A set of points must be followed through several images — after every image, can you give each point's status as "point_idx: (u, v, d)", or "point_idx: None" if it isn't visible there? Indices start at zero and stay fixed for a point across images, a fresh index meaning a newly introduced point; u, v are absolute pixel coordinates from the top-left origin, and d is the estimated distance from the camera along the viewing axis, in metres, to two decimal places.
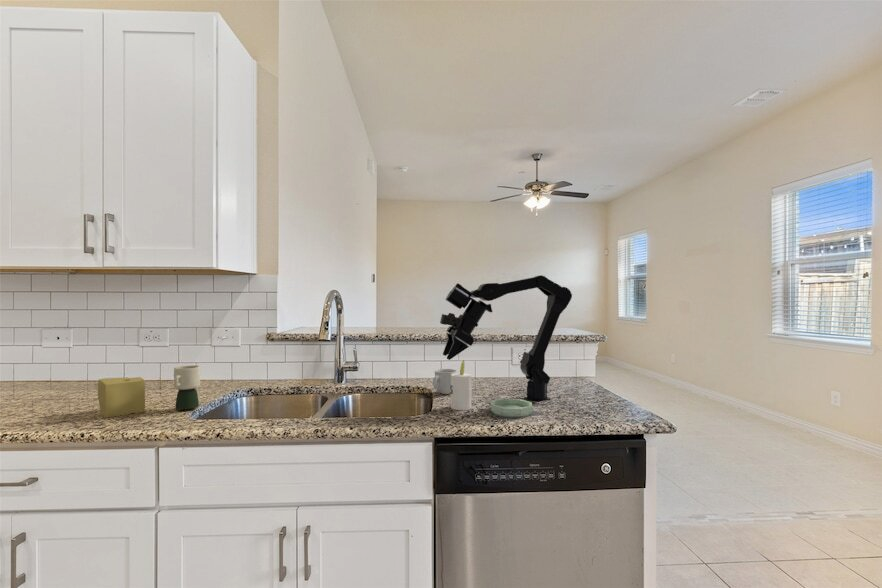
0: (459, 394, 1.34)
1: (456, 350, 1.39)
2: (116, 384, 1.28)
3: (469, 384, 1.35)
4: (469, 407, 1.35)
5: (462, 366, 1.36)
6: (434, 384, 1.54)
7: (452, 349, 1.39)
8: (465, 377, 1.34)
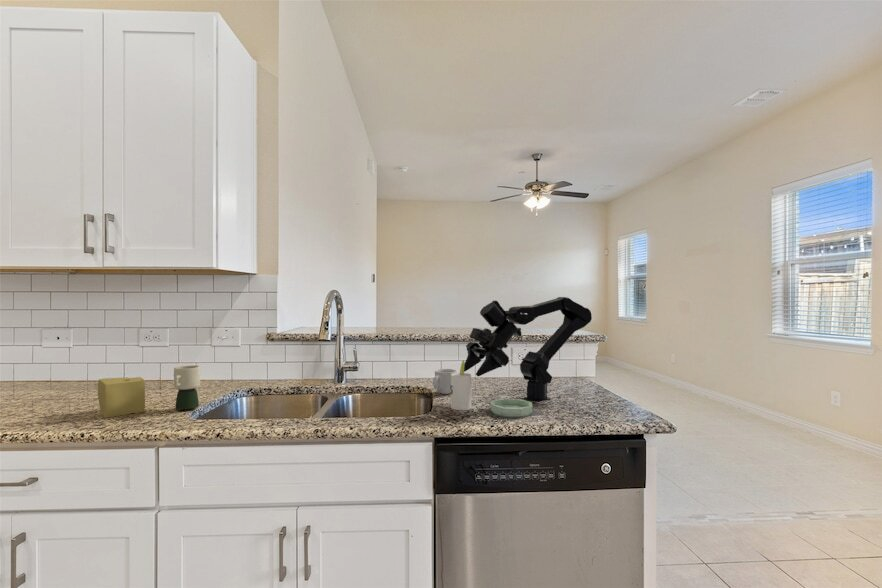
0: (459, 394, 1.34)
1: (487, 368, 1.34)
2: (116, 384, 1.28)
3: (469, 384, 1.35)
4: (469, 407, 1.35)
5: (462, 366, 1.36)
6: (434, 384, 1.54)
7: (484, 366, 1.34)
8: (465, 377, 1.34)
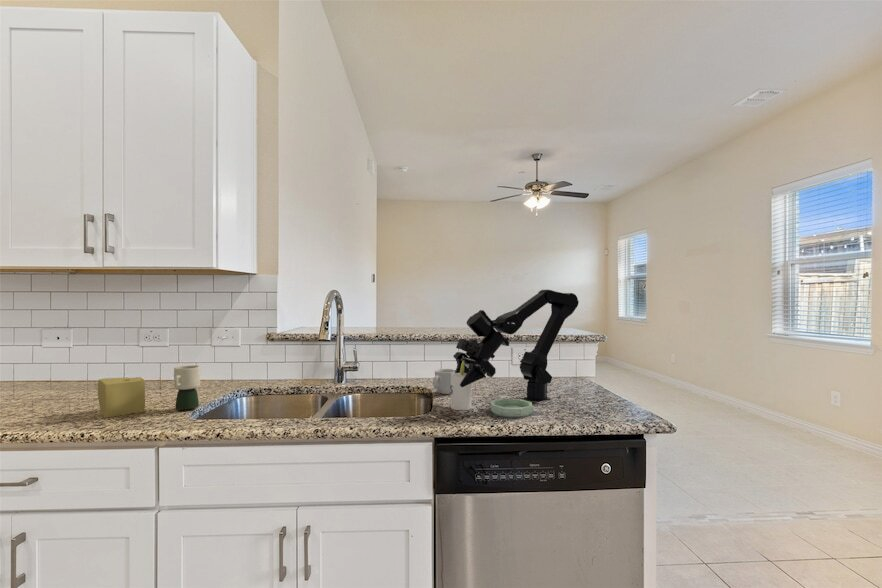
0: (459, 394, 1.34)
1: (471, 378, 1.34)
2: (116, 384, 1.28)
3: (469, 384, 1.35)
4: (469, 407, 1.35)
5: (462, 366, 1.36)
6: (434, 384, 1.54)
7: (468, 377, 1.33)
8: None
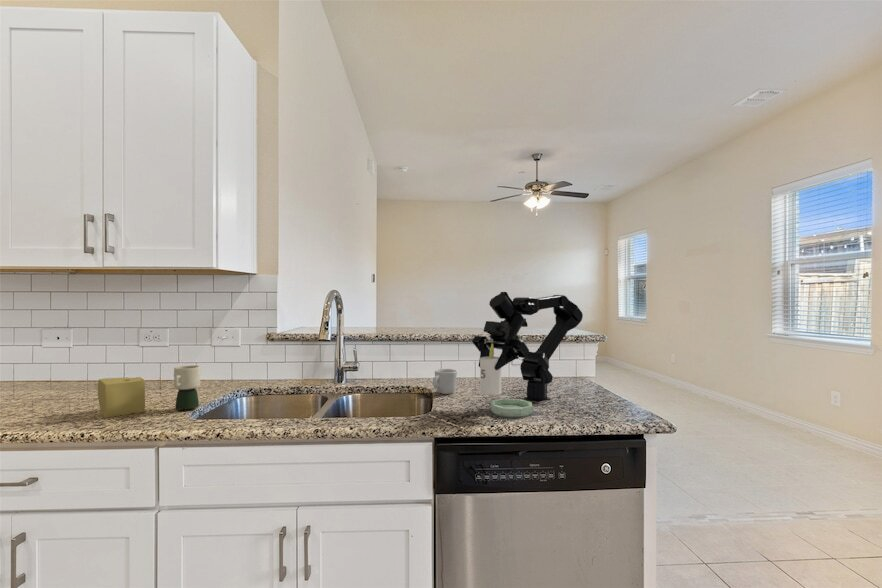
0: (493, 377, 1.30)
1: (505, 360, 1.31)
2: (116, 384, 1.28)
3: None
4: None
5: (492, 349, 1.33)
6: (434, 384, 1.54)
7: (502, 359, 1.31)
8: None
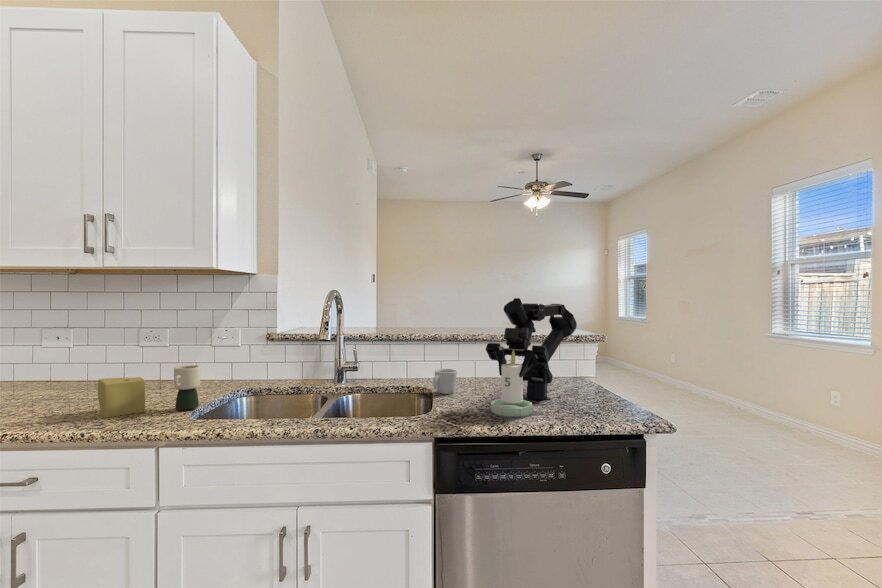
0: (518, 385, 1.29)
1: (527, 367, 1.31)
2: (116, 384, 1.28)
3: None
4: None
5: (514, 356, 1.32)
6: (434, 384, 1.54)
7: (526, 366, 1.30)
8: None
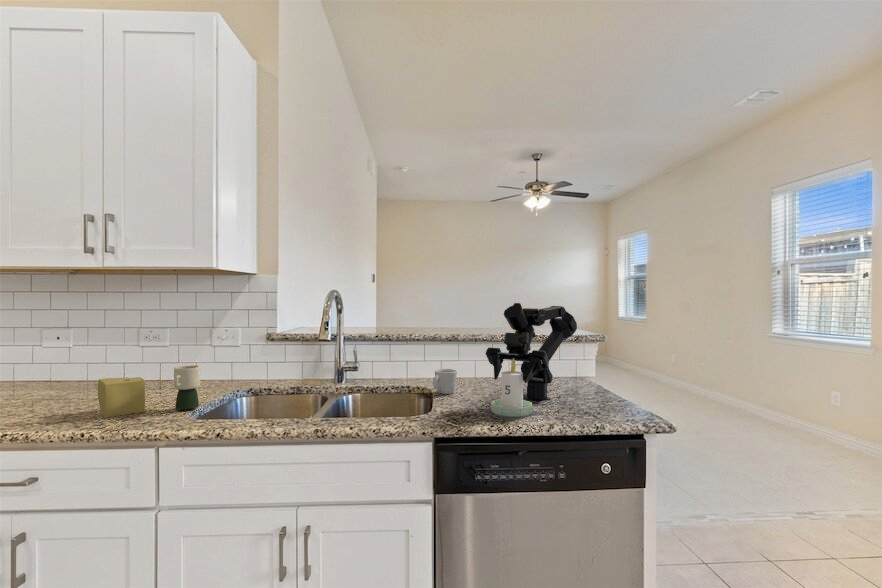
0: (518, 393, 1.29)
1: (532, 373, 1.30)
2: (116, 384, 1.28)
3: None
4: None
5: (514, 364, 1.32)
6: (434, 384, 1.54)
7: (530, 371, 1.29)
8: (522, 375, 1.30)
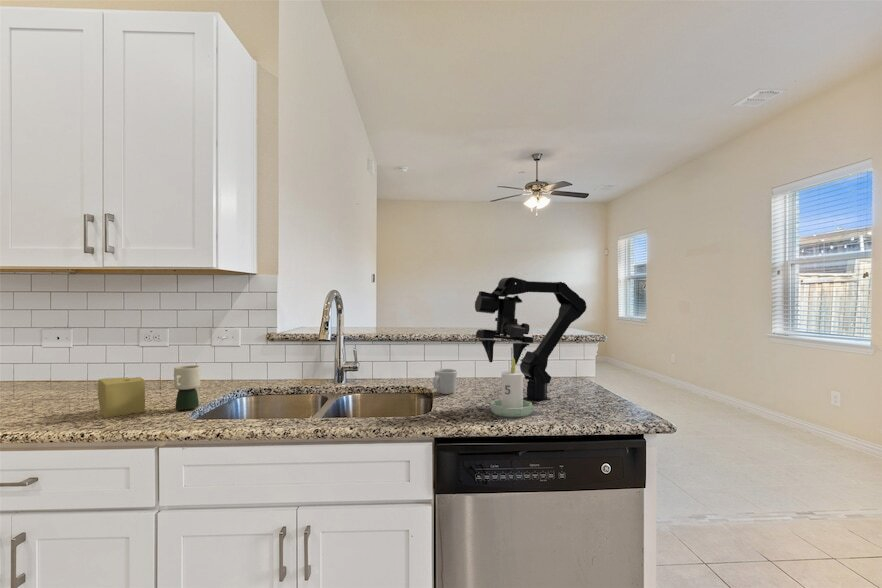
0: (518, 393, 1.29)
1: None
2: (116, 384, 1.28)
3: None
4: None
5: (514, 364, 1.32)
6: (434, 384, 1.54)
7: None
8: (522, 375, 1.30)
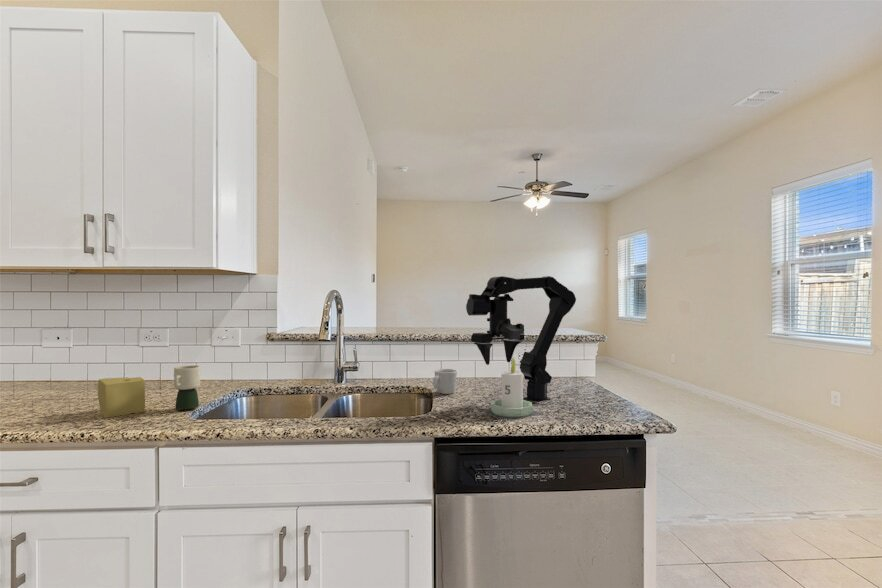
0: (518, 393, 1.29)
1: None
2: (116, 384, 1.28)
3: None
4: None
5: (514, 364, 1.32)
6: (434, 384, 1.54)
7: None
8: (522, 375, 1.30)
